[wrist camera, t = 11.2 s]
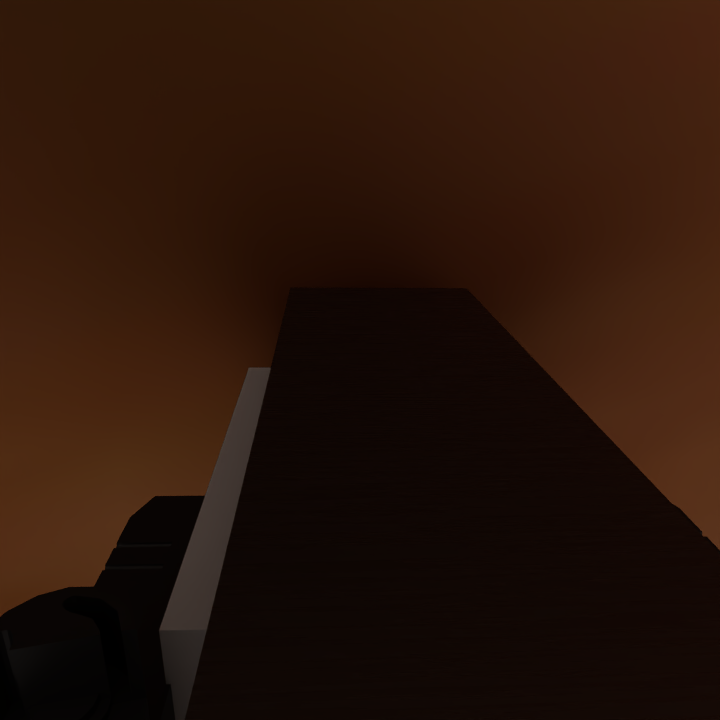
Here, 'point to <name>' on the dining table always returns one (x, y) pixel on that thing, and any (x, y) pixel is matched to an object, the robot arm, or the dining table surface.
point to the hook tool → (447, 538)
